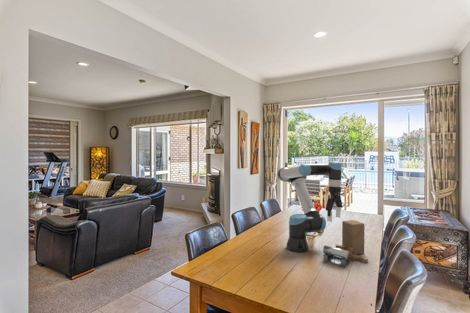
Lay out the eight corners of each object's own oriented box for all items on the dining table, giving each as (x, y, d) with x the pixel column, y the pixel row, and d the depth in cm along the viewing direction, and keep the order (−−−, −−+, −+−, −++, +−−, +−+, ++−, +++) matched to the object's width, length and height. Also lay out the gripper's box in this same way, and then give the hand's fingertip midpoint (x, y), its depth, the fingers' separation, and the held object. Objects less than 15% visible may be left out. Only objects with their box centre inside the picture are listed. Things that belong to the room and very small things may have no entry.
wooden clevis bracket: (330, 256, 171) (330, 248, 171) (337, 251, 179) (337, 244, 179) (365, 265, 157) (365, 256, 157) (370, 259, 165) (370, 251, 165)
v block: (323, 261, 163) (323, 254, 163) (328, 257, 169) (328, 250, 169) (344, 267, 154) (344, 260, 154) (349, 262, 161) (350, 256, 161)
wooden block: (351, 255, 173) (352, 224, 173) (341, 249, 183) (342, 220, 183) (364, 253, 176) (364, 223, 176) (354, 248, 185) (354, 219, 185)
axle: (322, 254, 165) (323, 246, 165) (326, 252, 168) (326, 244, 169) (346, 260, 155) (346, 251, 156) (348, 258, 159) (349, 250, 159)
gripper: (332, 188, 155) (331, 224, 156) (347, 184, 174) (347, 216, 175) (320, 187, 161) (319, 221, 161) (336, 183, 179) (335, 214, 180)
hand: (333, 219), depth 168 cm, fingers open, 13 cm apart
